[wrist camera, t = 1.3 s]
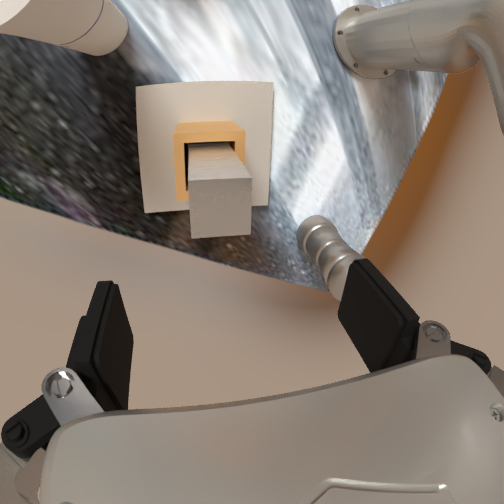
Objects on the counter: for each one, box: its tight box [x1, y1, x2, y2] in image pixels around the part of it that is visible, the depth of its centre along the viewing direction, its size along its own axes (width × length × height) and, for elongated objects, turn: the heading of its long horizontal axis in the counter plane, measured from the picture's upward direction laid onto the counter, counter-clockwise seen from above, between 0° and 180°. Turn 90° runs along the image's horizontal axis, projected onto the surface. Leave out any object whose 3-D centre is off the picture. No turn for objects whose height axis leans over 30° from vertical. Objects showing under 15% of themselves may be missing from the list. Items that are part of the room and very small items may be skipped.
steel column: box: [188, 141, 252, 238], centre depth 28 cm, size 4×4×22 cm
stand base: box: [136, 81, 274, 213], centre depth 33 cm, size 18×18×13 cm
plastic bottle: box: [297, 215, 365, 302], centre depth 41 cm, size 6×7×20 cm
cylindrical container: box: [0, 0, 128, 56], centre depth 17 cm, size 7×7×25 cm
